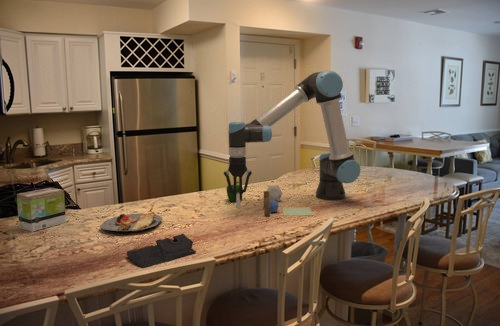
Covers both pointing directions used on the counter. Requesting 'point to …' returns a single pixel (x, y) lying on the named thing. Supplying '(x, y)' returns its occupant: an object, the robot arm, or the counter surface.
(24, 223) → the tea box
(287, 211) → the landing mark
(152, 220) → the food plate
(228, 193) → the bell pepper
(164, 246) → the stepped dark grey slab
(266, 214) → the gate post
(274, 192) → the die
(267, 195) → the gate post
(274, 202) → the ball
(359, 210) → the counter surface
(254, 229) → the counter surface
